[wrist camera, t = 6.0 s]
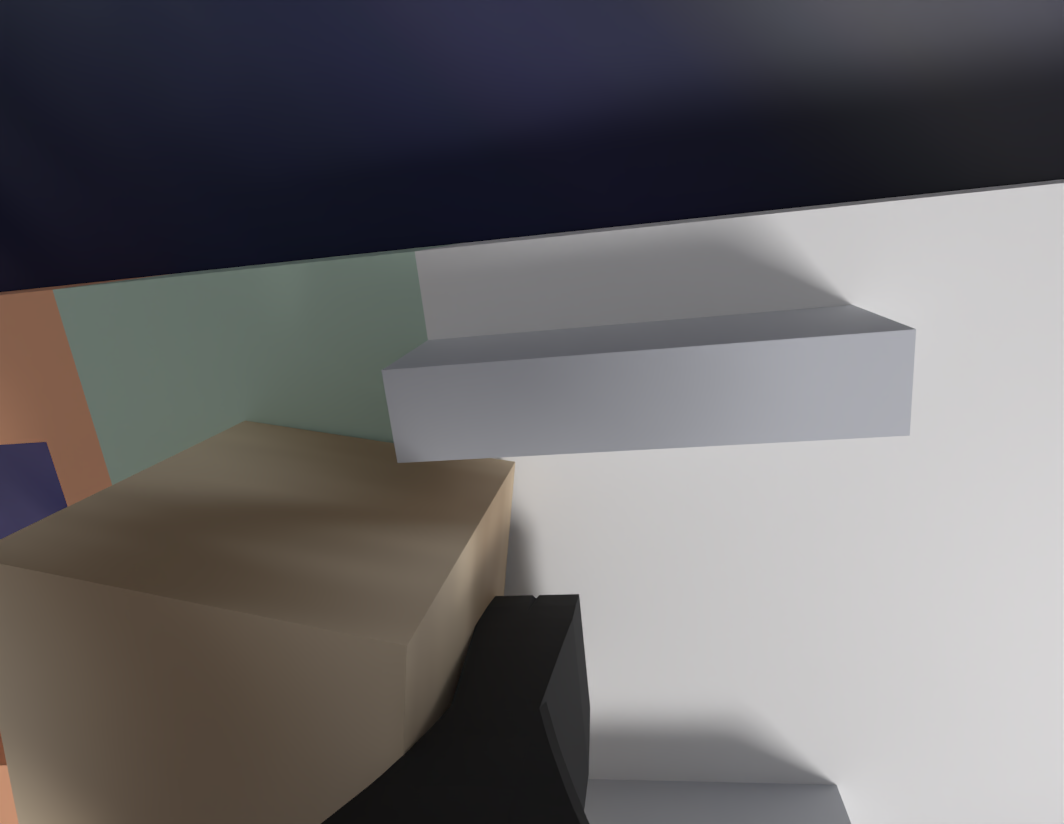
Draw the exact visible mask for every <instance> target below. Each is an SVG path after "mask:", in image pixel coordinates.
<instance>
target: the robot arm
mask: <svg viewBox="0 0 1064 824" xmlns="http://www.w3.org/2000/svg"><path fill="white" fill-rule="evenodd" d="M589 745H590V700H589V690H588V680H587V669H586V659H585V649H584V639H583V629H582V618H581V608H580V598H579V594H563V595H539V596H538V597H537V598H535V597H534V596H533V595H519V596H495V597H494V598H493V600H492V601H491V602H490V604H489V605H488V606H487V608H486V609H485V611H484V612H483V614H482V616H481V617H480V619H479V620H478V622H477V624H476V626H475V628H474V631H473V635H472V638H471V641H470V644H469V647H468V650H467V654H466V657H465V660H464V664H463V667H462V670H461V674H460V677H459V680H458V684H457V687H456V690H455V693H454V697H453V700H452V703H451V706H450V707H449V708H448V710H447V711H446V712H445V713H444V714H443V715H442V716H441V717H440V718H439V719H438V721H437V722H436V723H435V724H434V725H433V726H432V727H431V728H430V729H429V730H428V731H427V732H426V733H425V734H424V735H423V736H422V737H421V738H420V739H419V740H418V741H417V742H416V743H415V744H414V745H413V746H412V747H411V748H410V749H409V750H408V751H407V752H406V753H405V754H404V755H403V756H402V757H401V758H399V759H398V760H397V761H396V762H395V763H394V764H393V765H392V766H391V767H390V768H389V769H387V770H386V771H385V772H384V773H383V774H382V775H381V776H380V777H378V778H377V779H376V780H375V781H374V782H373V783H371V784H370V785H369V786H368V787H366V788H365V789H364V790H363V791H361V792H360V793H359V794H358V795H356V796H355V797H354V798H353V799H351V800H350V801H349V802H347V803H346V804H345V805H344V806H342V807H341V808H340V809H339V810H337V811H336V812H335V813H334V814H332V815H331V816H330V817H328V818H327V819H326V820H325V821H323V822H322V823H321V824H589V821H588V819H587V817H586V814H585V812H584V808H585V800H586V792H587V784H588V776H589Z"/></svg>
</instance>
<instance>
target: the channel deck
mask: <svg viewBox="0 0 1064 824" xmlns="http://www.w3.org/2000/svg"><path fill="white" fill-rule="evenodd" d="M243 421H251V422H258V423H265V424H271V425H278V426H284V427H291V428H297V429H304V430H310V431H317V432H323V433H330V434H337V435H343V436H350V437H356V438H363V439H369V440H376V441H382V442H389V443H394V446H395V452H396V458H397V463H407V462H426V461H445V460H463V459H482V458H494V459H500V460H507V461H513V462H515V472H514V484H513V495H512V507H511V519H510V530H509V542H508V554H507V565H506V577H505V589H504V596H519V595H533V596H534V597H535V598H537V597H538V596H539V595H563V594H579V598H580V608H581V618H582V629H583V639H584V649H585V659H586V669H587V680H588V690H589V700H590V745H589V776H588V784H587V792H586V800H585V808H584V812H585V814H586V817H587V819H588V821H589V824H1064V179H1061V180H1051V181H1042V182H1032V183H1023V184H1014V185H1004V186H995V187H985V188H976V189H967V190H957V191H948V192H938V193H929V194H920V195H910V196H901V197H891V198H882V199H873V200H863V201H854V202H844V203H835V204H825V205H816V206H807V207H797V208H788V209H778V210H769V211H760V212H750V213H741V214H731V215H722V216H713V217H703V218H694V219H684V220H675V221H666V222H656V223H647V224H637V225H628V226H618V227H609V228H600V229H590V230H581V231H571V232H562V233H553V234H543V235H534V236H524V237H515V238H506V239H496V240H487V241H477V242H468V243H459V244H449V245H440V246H430V247H421V248H411V249H402V250H393V251H383V252H374V253H364V254H355V255H346V256H336V257H327V258H317V259H308V260H299V261H289V262H280V263H270V264H261V265H251V266H242V267H233V268H223V269H214V270H204V271H195V272H186V273H176V274H167V275H157V276H148V277H139V278H129V279H120V280H110V281H101V282H92V283H82V284H73V285H63V286H54V287H44V288H35V289H26V290H16V291H7V292H0V445H2V444H18V443H33V442H47V445H48V448H49V451H50V454H51V457H52V460H53V463H54V466H55V469H56V472H57V475H58V478H59V481H60V484H61V487H62V490H63V493H64V496H65V499H66V503H67V506H68V507H69V506H71V505H73V504H75V503H77V502H79V501H81V500H83V499H85V498H87V497H89V496H91V495H93V494H95V493H97V492H99V491H101V490H104V489H106V488H108V487H110V486H112V485H114V484H116V483H118V482H120V481H122V480H124V479H126V478H128V477H130V476H132V475H134V474H136V473H138V472H140V471H143V470H145V469H147V468H149V467H151V466H153V465H155V464H157V463H159V462H161V461H163V460H165V459H167V458H169V457H171V456H173V455H175V454H177V453H179V452H182V451H184V450H186V449H188V448H190V447H192V446H194V445H196V444H198V443H200V442H202V441H204V440H206V439H208V438H210V437H212V436H214V435H216V434H219V433H221V432H223V431H225V430H227V429H229V428H231V427H233V426H235V425H237V424H239V423H241V422H243ZM0 824H19V823H18V818H17V813H16V808H15V803H14V798H13V793H12V788H11V783H10V778H9V773H8V768H7V763H6V758H5V753H4V748H3V743H2V738H1V733H0Z"/></svg>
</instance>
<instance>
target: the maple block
mask: <svg viewBox="0 0 1064 824" xmlns="http://www.w3.org/2000/svg"><path fill="white" fill-rule="evenodd" d="M514 472H515V462H513V461H507V460H500V459H494V458H482V459H463V460H445V461H426V462H407V463H397V458H396V452H395V446H394V443H389V442H382V441H376V440H369V439H363V438H356V437H350V436H343V435H337V434H330V433H323V432H317V431H310V430H304V429H297V428H291V427H284V426H278V425H271V424H265V423H258V422H251V421H243V422H241V423H239V424H237V425H235V426H233V427H231V428H229V429H227V430H225V431H223V432H221V433H219V434H216V435H214V436H212V437H210V438H208V439H206V440H204V441H202V442H200V443H198V444H196V445H194V446H192V447H190V448H188V449H186V450H184V451H182V452H179V453H177V454H175V455H173V456H171V457H169V458H167V459H165V460H163V461H161V462H159V463H157V464H155V465H153V466H151V467H149V468H147V469H145V470H143V471H140V472H138V473H136V474H134V475H132V476H130V477H128V478H126V479H124V480H122V481H120V482H118V483H116V484H114V485H112V486H110V487H108V488H106V489H104V490H101V491H99V492H97V493H95V494H93V495H91V496H89V497H87V498H85V499H83V500H81V501H79V502H77V503H75V504H73V505H71V506H69V507H67V508H64V509H62V510H60V511H58V512H56V513H54V514H52V515H50V516H48V517H46V518H44V519H42V520H40V521H38V522H36V523H34V524H32V525H30V526H28V527H25V528H23V529H21V530H19V531H17V532H15V533H13V534H11V535H9V536H7V537H5V538H3V539H1V540H0V733H1V738H2V743H3V748H4V753H5V758H6V763H7V768H8V773H9V778H10V783H11V788H12V793H13V798H14V803H15V808H16V813H17V818H18V823H19V824H321V823H322V822H323V821H325V820H326V819H327V818H328V817H330V816H331V815H332V814H334V813H335V812H336V811H337V810H339V809H340V808H341V807H342V806H344V805H345V804H346V803H347V802H349V801H350V800H351V799H353V798H354V797H355V796H356V795H358V794H359V793H360V792H361V791H363V790H364V789H365V788H366V787H368V786H369V785H370V784H371V783H373V782H374V781H375V780H376V779H377V778H378V777H380V776H381V775H382V774H383V773H384V772H385V771H386V770H387V769H389V768H390V767H391V766H392V765H393V764H394V763H395V762H396V761H397V760H398V759H399V758H401V757H402V756H403V755H404V754H405V753H406V752H407V751H408V750H409V749H410V748H411V747H412V746H413V745H414V744H415V743H416V742H417V741H418V740H419V739H420V738H421V737H422V736H423V735H424V734H425V733H426V732H427V731H428V730H429V729H430V728H431V727H432V726H433V725H434V724H435V723H436V722H437V721H438V719H439V718H440V717H441V716H442V715H443V714H444V713H445V712H446V711H447V710H448V708H449V707H450V706H451V703H452V700H453V697H454V693H455V690H456V687H457V684H458V680H459V677H460V674H461V670H462V667H463V664H464V660H465V657H466V654H467V650H468V647H469V644H470V641H471V638H472V635H473V631H474V628H475V626H476V624H477V622H478V620H479V619H480V617H481V616H482V614H483V612H484V611H485V609H486V608H487V606H488V605H489V604H490V602H491V601H492V600H493V598H494V597H495V596H504V589H505V577H506V565H507V554H508V542H509V530H510V519H511V507H512V495H513V484H514Z"/></svg>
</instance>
